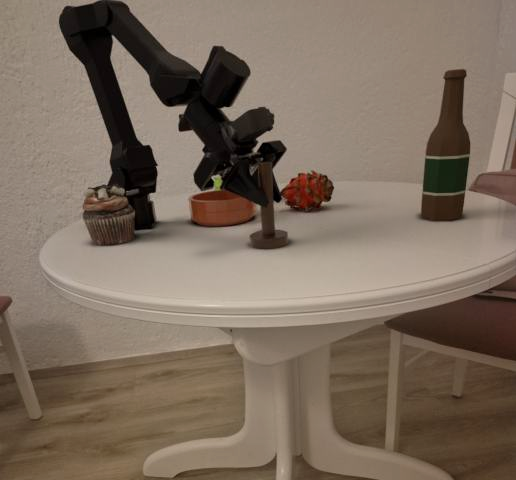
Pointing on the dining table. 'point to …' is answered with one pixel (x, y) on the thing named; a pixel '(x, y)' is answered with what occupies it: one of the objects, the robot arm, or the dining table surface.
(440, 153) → the beer bottle
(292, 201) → the dragon fruit
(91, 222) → the cupcake
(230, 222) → the bowl
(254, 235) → the wooden peg on disc
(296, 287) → the dining table surface
